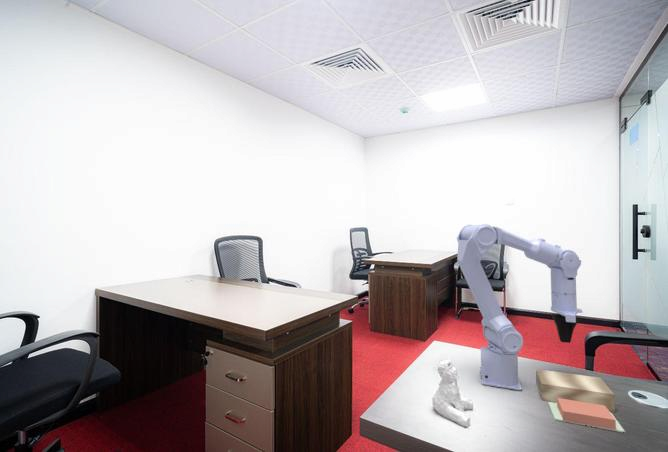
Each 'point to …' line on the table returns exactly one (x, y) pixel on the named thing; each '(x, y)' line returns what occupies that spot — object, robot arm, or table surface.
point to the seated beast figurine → (451, 396)
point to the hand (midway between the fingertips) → (565, 341)
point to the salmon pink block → (586, 413)
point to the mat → (558, 417)
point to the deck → (574, 388)
